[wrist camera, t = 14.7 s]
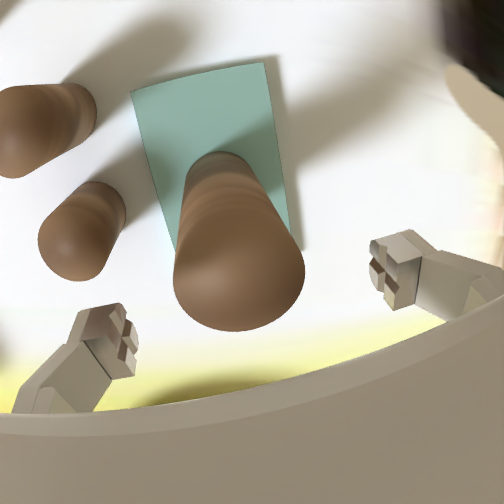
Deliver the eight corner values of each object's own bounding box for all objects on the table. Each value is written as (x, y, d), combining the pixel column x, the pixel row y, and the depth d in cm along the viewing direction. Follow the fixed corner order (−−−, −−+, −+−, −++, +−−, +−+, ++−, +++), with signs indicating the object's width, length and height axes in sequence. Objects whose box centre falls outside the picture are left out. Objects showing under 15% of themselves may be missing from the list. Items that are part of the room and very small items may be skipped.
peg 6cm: (60, 192, 22) (26, 222, 16) (114, 173, 22) (90, 200, 17) (81, 247, 24) (57, 287, 19) (134, 232, 24) (118, 272, 19)
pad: (134, 91, 19) (130, 91, 18) (260, 63, 20) (263, 61, 19) (188, 281, 27) (188, 289, 26) (290, 257, 28) (294, 264, 27)
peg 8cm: (33, 98, 18) (-29, 110, 11) (88, 73, 18) (38, 70, 11) (48, 157, 20) (-6, 190, 13) (103, 136, 20) (61, 160, 13)
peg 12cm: (177, 160, 21) (154, 239, 11) (248, 144, 21) (297, 206, 11) (194, 224, 24) (194, 342, 13) (260, 209, 24) (309, 315, 13)
